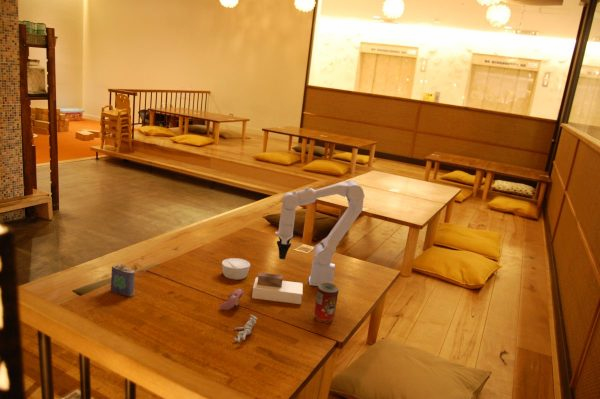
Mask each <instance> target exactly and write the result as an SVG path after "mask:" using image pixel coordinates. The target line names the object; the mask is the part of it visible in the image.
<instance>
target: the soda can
mask: <svg viewBox="0 0 600 399" xmlns="http://www.w3.org/2000/svg"><path fill="white" fill-rule="evenodd" d="M339 290H340V289H339V287H338V286H336V285H335V284H330V283H323V284H320V285H319V286H317V291H316V292H317V293H316V299H315V306H314V316H315V320H316V321H318V322H321V323H325V324H327V323H330V322H332V321H333V319H334V317H335V315H336V308H337V302H338V296H339Z"/></svg>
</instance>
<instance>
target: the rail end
mask: <svg viewBox="0 0 600 399" xmlns="http://www.w3.org/2000/svg"><path fill="white" fill-rule="evenodd" d="M257 277H258V283H257V285H264V286H272V287H280V288H282V281H284V280H283V278H284V275H281V274H275V273H266V272H265V273H264V272H258V276H257Z"/></svg>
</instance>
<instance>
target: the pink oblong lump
mask: <svg viewBox="0 0 600 399" xmlns="http://www.w3.org/2000/svg"><path fill="white" fill-rule="evenodd" d="M244 293H245V292H244V290H243V289H240V288H237V289H236V290H234V291H233V292H231V293H230V294H228V296H227V298H228V300H225V301H224V302H222V303H221V304H220V305H219V308H220V310H221V311H227V310H229V309H233V308H234V306H238V305H239V300H240V299H241V298H242V297H243V295H244Z"/></svg>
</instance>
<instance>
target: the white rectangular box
mask: <svg viewBox="0 0 600 399" xmlns="http://www.w3.org/2000/svg"><path fill="white" fill-rule="evenodd" d="M253 283H254V284H253V287H252V295H251V299H256V300H264V301H271V302H272V301H273V302H280V303H289V304H297V305H301V304H302V302H303V301H302V299H303V293H304V292H303V288H304V287H303V282H297V281H296V282H295V281H289V280H288V281H287V280H282V288H280V287H272V286H264V285H257V283H258V276H257V277H255V279H254V282H253Z"/></svg>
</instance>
